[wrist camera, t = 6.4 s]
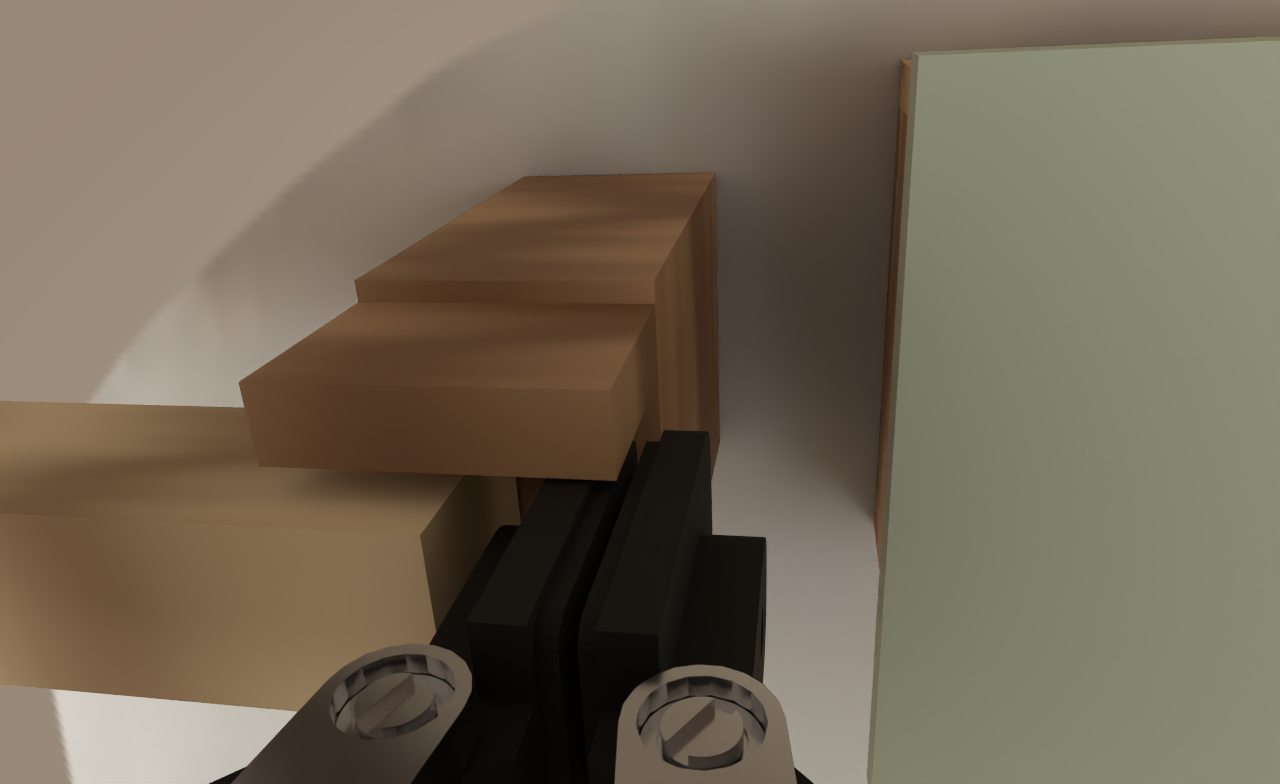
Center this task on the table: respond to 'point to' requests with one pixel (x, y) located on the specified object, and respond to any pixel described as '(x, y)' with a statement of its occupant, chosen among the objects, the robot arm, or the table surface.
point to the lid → (1085, 421)
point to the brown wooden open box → (529, 339)
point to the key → (215, 556)
